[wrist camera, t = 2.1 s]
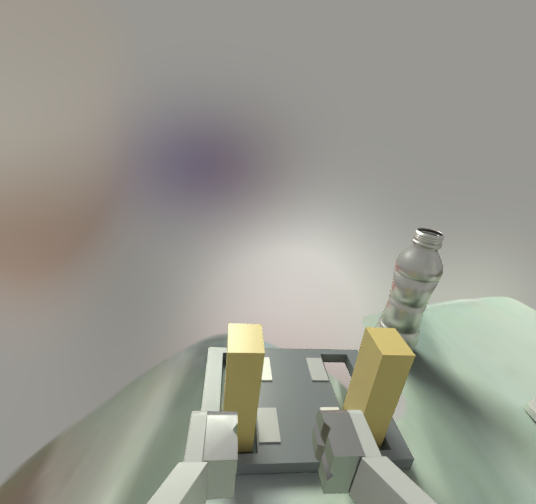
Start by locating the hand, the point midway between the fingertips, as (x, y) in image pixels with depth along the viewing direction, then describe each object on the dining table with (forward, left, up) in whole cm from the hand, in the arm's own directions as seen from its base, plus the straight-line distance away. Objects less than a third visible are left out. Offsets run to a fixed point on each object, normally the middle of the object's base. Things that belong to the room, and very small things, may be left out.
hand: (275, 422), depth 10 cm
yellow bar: (-8, -13, -22) cm, 27 cm away
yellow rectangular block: (-20, -6, -22) cm, 30 cm away
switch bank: (-16, -13, -22) cm, 30 cm away
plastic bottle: (-37, -13, -22) cm, 45 cm away
